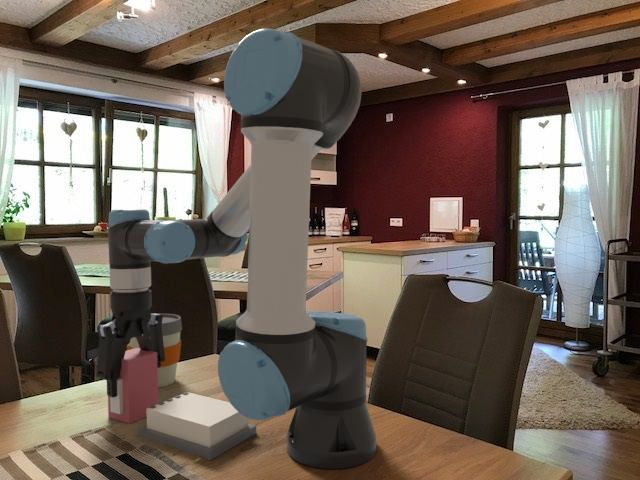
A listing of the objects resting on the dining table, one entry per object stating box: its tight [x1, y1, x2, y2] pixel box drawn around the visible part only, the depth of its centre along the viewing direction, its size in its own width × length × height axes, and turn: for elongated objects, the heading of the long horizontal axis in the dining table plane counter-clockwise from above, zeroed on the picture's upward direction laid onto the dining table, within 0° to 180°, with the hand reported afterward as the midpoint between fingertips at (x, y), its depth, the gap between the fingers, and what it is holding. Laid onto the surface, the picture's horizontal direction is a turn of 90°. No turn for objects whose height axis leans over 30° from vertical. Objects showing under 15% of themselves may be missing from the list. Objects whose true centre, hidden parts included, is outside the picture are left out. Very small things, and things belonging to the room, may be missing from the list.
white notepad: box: [138, 391, 257, 461], centre depth 96 cm, size 17×12×5 cm
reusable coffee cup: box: [126, 313, 183, 388], centre depth 125 cm, size 13×13×15 cm
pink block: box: [107, 348, 159, 425], centre depth 105 cm, size 6×7×12 cm
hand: (133, 405), depth 105 cm, fingers closed on pink block, 7 cm apart
